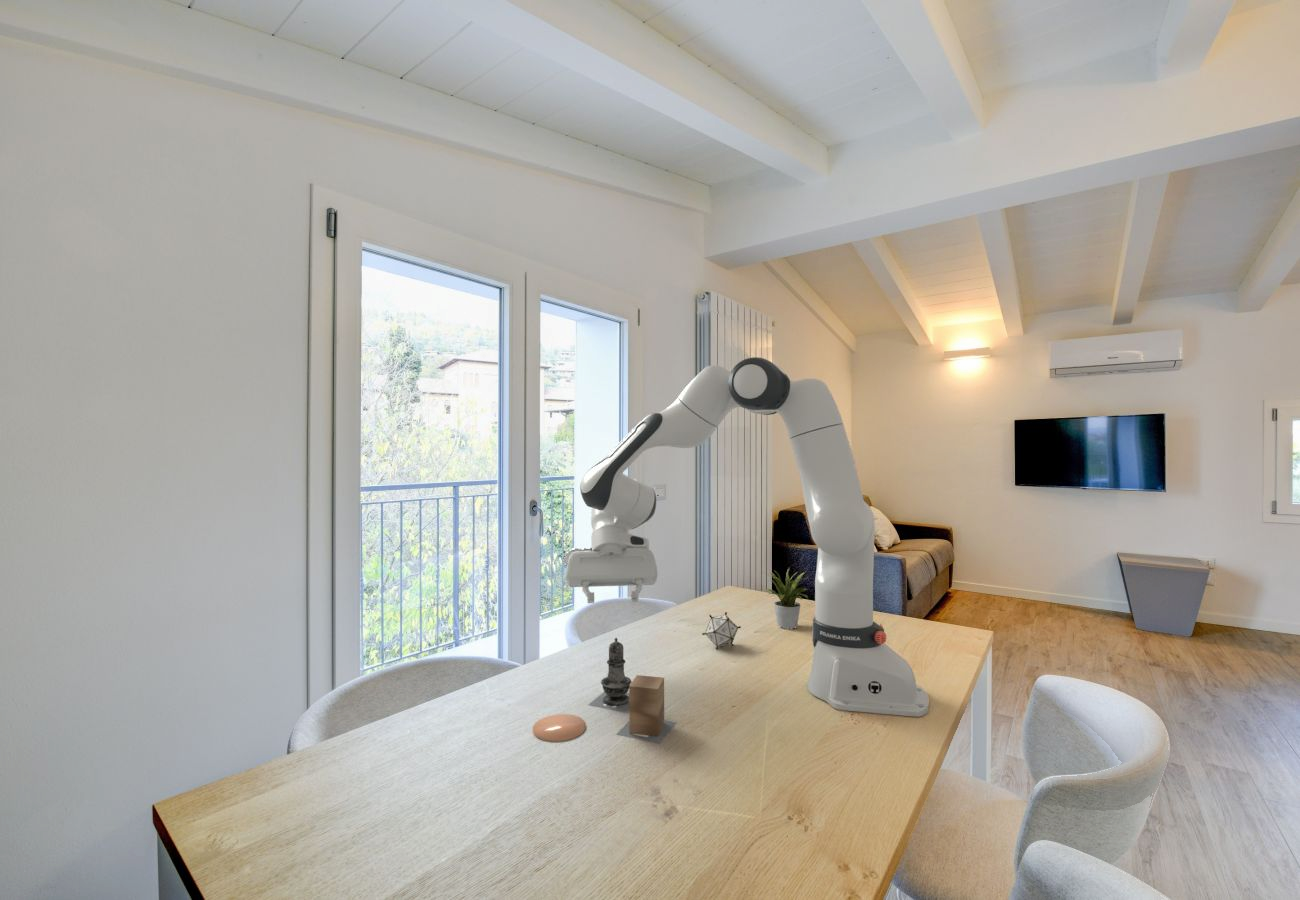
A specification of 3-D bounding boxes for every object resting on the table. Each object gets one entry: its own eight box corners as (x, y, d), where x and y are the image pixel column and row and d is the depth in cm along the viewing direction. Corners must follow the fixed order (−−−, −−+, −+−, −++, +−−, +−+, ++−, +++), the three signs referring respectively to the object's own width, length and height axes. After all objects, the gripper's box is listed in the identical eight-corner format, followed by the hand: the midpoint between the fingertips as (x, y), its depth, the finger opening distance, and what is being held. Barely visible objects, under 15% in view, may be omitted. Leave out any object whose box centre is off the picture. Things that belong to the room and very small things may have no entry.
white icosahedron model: (728, 663, 141) (744, 638, 135) (696, 651, 141) (710, 625, 135) (731, 635, 148) (746, 610, 143) (700, 623, 148) (714, 598, 143)
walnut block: (664, 722, 101) (664, 677, 101) (658, 736, 97) (658, 688, 97) (636, 719, 103) (636, 675, 103) (629, 733, 98) (629, 686, 98)
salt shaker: (636, 696, 112) (636, 635, 112) (622, 708, 107) (622, 644, 107) (610, 691, 115) (610, 631, 115) (595, 703, 109) (595, 640, 109)
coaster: (594, 722, 102) (594, 719, 102) (568, 746, 94) (568, 743, 94) (551, 713, 105) (551, 710, 105) (522, 736, 97) (522, 732, 97)
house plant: (756, 633, 152) (756, 571, 152) (756, 618, 166) (755, 561, 166) (812, 636, 150) (812, 573, 150) (807, 620, 163) (806, 563, 163)
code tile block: (676, 723, 102) (676, 722, 102) (659, 744, 94) (659, 743, 94) (635, 715, 105) (635, 714, 105) (616, 735, 97) (616, 734, 97)
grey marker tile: (643, 696, 113) (643, 695, 113) (625, 713, 106) (625, 712, 106) (607, 689, 116) (607, 688, 116) (587, 705, 109) (587, 704, 109)
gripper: (564, 540, 129) (563, 594, 120) (655, 538, 132) (661, 592, 122) (565, 556, 134) (564, 610, 124) (652, 554, 136) (658, 607, 126)
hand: (613, 601), depth 123 cm, fingers open, 8 cm apart
